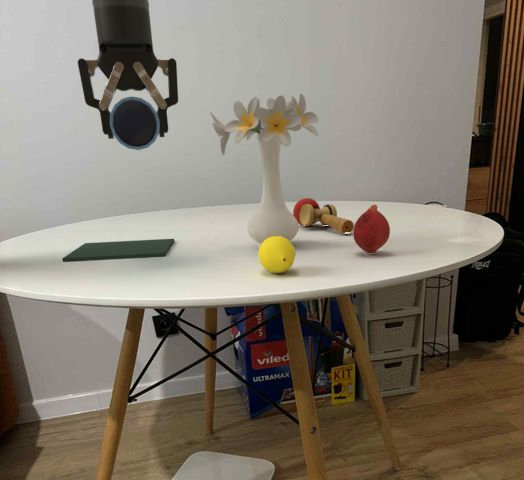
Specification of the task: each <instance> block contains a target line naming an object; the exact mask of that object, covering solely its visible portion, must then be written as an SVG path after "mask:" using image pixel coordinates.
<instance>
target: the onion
mask: <svg viewBox="0 0 524 480" xmlns="http://www.w3.org/2000/svg"><path fill="white" fill-rule="evenodd" d="M378 207H379V206H378V205H377V204H375V203H373V204H371V205H370V206H369V207H368V209H367V210H366V211H364V212H363V213H362V214H360V216H359V217H357V220H356V222H355V223H354V228H353V231H352V235H353V240H354V243H355V244H356V245H357V246H358V247H359V248H360V249H361V250H362V251H364V252H365V253H366V254H368V253H374V254H376V252H377V251H378V250H380V249H381V248H382V247H384V245H386V244H387V242H388V240H389V238H390V235H391V227H390V223H389V221H388V219H387V218H386V217H385V215H384V214H383V213H381V212H380V211H378Z"/></svg>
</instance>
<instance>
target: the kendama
mask: <svg viewBox="0 0 524 480" xmlns="http://www.w3.org/2000/svg"><path fill="white" fill-rule="evenodd" d="M337 211H338V210H337V207H336V206H335V205H333V204H331V203H327V204H324V205H323V206H322V208H321V207H320V204H319V203H318V202H317V201H316V200H315V199H313V198H310V197H304V198H301V199H299V200H298V201H297V202H296V203H295V205H294V206H293V211H292V214H293V215H294V217H295V218H296V220H297V222H298V225H299V226H302V225H305V226H306V227H310V226H309V225H311V226H313V225H315V224H317V223H320V224H321V225H322V226H323V225H328V226H330V227H329V228H332V229H333V230H335V231H337V232H339V233H341V234H342V233H345V232H351V231H352V232H353V229H354V226H355V223H354V222H353V220H351V219H346V218H344V217H343V218H342V217H339V216H338V212H337ZM312 224H313V225H312ZM352 232H351V233H352Z"/></svg>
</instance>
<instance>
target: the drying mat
mask: <svg viewBox="0 0 524 480" xmlns="http://www.w3.org/2000/svg"><path fill="white" fill-rule="evenodd" d="M174 243H175V238H161V239H160V238H157V239H137V240H121V241H120V240H119V241H118V240H117V241H99V242H85V243H83V244H81V245H79V247H77V248H76V249H74V250H72V251H71V252H70V253H68V254H66V255H65V256H63V257H62V262H79V261H81V262H83V261H98V260H100V261H101V260H102V261H103V260H119V259H139V258H157V257H160V258H161V257H166V255H167V253H168V252H169V250H170V249H171V247H172V246H173V245H174Z"/></svg>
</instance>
